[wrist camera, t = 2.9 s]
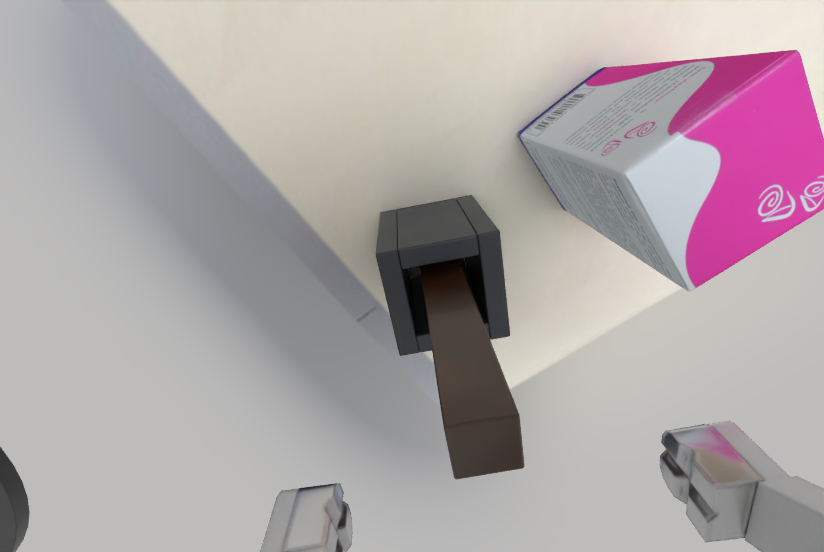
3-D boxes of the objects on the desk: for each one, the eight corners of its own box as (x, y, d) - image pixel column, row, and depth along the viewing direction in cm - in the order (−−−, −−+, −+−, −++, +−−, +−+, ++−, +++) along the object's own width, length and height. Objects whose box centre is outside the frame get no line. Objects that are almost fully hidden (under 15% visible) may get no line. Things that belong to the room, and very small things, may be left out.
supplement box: (565, 213, 25) (687, 299, 15) (513, 133, 23) (614, 167, 13) (651, 153, 24) (853, 199, 13) (605, 62, 22) (801, 34, 11)
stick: (420, 264, 26) (454, 481, 11) (414, 234, 25) (443, 427, 11) (451, 258, 26) (525, 469, 11) (446, 228, 25) (519, 415, 11)
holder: (398, 293, 27) (399, 356, 20) (380, 212, 25) (375, 253, 18) (482, 278, 27) (510, 336, 20) (472, 194, 24) (499, 230, 18)
